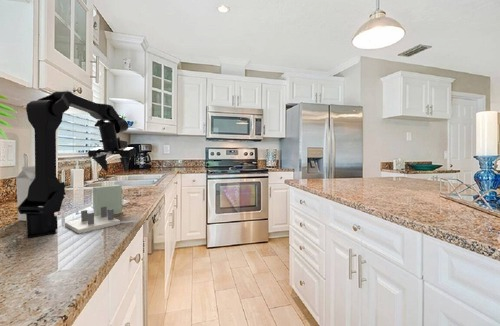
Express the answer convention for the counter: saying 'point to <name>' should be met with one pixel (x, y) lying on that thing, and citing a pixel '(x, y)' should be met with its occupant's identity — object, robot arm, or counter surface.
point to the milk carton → (24, 186)
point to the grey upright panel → (107, 199)
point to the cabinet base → (93, 221)
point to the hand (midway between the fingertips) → (116, 171)
